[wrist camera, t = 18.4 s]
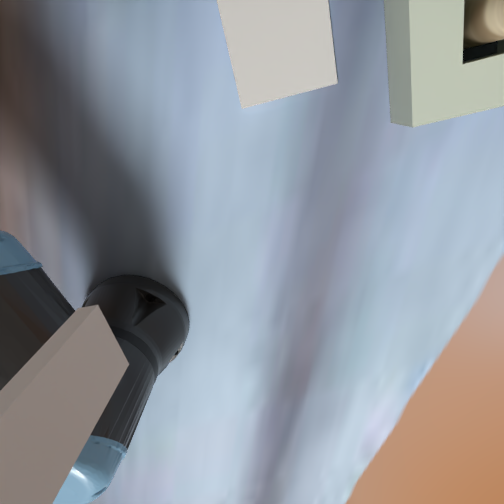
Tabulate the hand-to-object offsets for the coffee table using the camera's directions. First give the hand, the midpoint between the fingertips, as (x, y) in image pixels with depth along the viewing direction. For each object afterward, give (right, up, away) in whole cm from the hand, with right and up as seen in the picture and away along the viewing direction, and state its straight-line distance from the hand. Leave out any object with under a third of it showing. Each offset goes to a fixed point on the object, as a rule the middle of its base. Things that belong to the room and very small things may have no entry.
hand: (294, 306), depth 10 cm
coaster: (+1, +22, +21) cm, 31 cm away
